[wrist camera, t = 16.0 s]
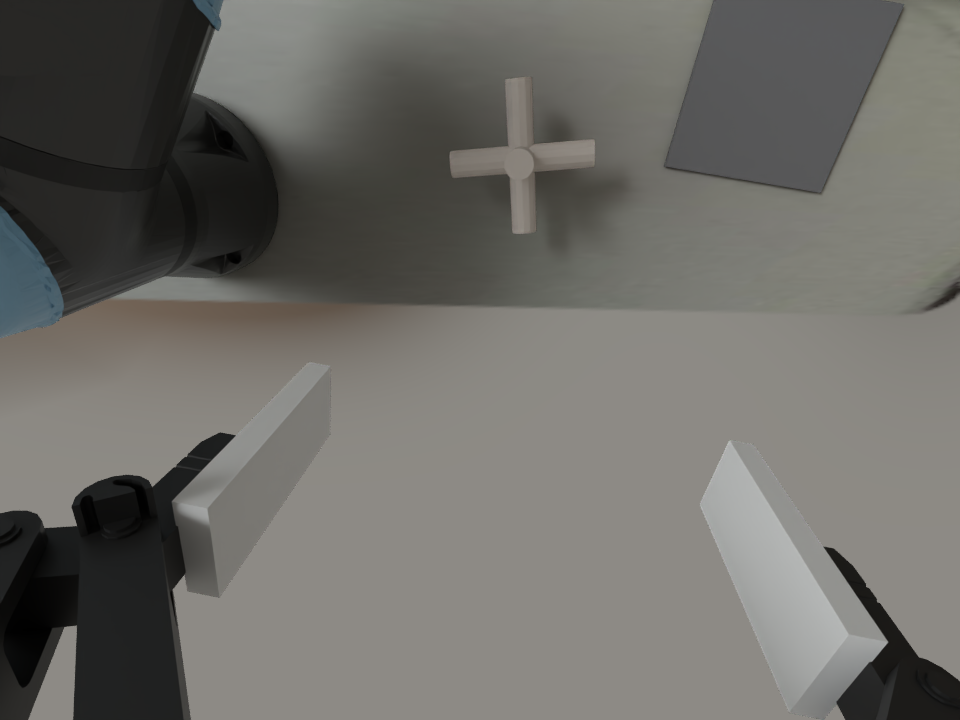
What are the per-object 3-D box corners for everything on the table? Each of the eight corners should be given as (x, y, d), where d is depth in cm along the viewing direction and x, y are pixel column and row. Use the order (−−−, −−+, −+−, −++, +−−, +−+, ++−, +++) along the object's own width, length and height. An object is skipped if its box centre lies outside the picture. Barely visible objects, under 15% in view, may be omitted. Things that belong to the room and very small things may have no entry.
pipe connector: (456, 91, 37) (429, 79, 28) (588, 78, 36) (604, 61, 27) (467, 223, 41) (448, 250, 33) (586, 216, 40) (599, 241, 31)
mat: (664, 166, 38) (665, 166, 38) (720, -23, 33) (722, -25, 32) (817, 192, 38) (820, 192, 37) (900, 5, 32) (904, 4, 32)
